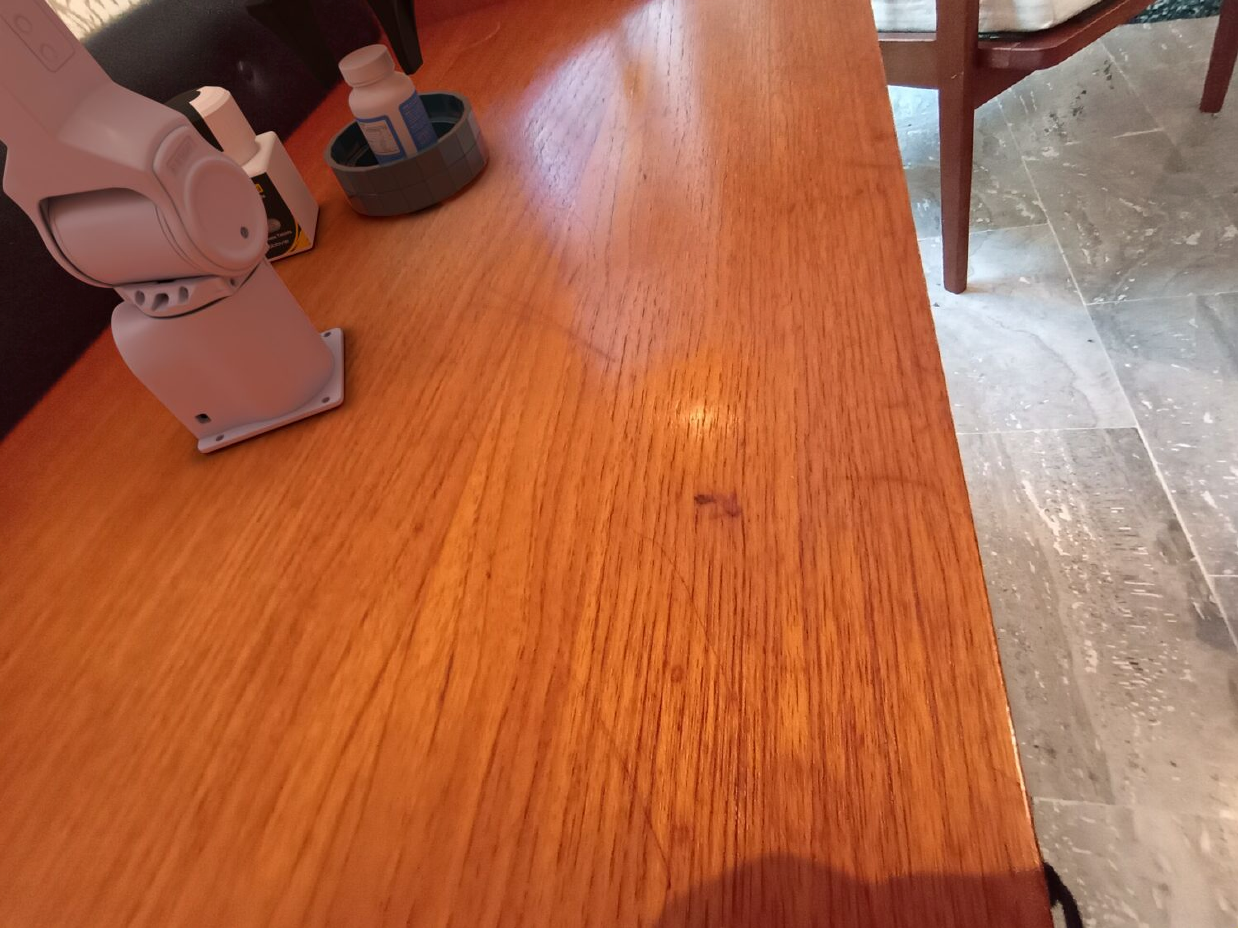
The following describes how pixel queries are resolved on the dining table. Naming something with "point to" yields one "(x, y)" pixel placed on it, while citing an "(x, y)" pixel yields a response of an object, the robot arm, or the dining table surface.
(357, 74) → the pill bottle
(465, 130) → the bowl
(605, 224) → the dining table surface
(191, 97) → the medicine bottle
